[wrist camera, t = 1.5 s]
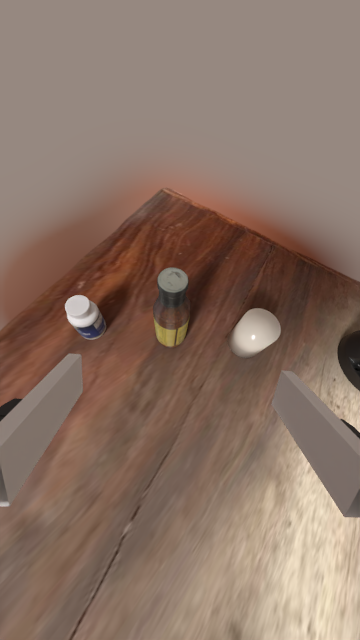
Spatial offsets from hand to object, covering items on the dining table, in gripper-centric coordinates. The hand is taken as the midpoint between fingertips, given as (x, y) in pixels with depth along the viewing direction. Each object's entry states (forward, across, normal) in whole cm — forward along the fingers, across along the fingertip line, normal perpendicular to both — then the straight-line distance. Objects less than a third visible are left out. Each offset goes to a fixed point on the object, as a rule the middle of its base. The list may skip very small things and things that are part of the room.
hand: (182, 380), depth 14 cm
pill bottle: (+30, -16, -9) cm, 35 cm away
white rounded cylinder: (+29, +16, -9) cm, 35 cm away
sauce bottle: (+30, 0, -9) cm, 31 cm away
